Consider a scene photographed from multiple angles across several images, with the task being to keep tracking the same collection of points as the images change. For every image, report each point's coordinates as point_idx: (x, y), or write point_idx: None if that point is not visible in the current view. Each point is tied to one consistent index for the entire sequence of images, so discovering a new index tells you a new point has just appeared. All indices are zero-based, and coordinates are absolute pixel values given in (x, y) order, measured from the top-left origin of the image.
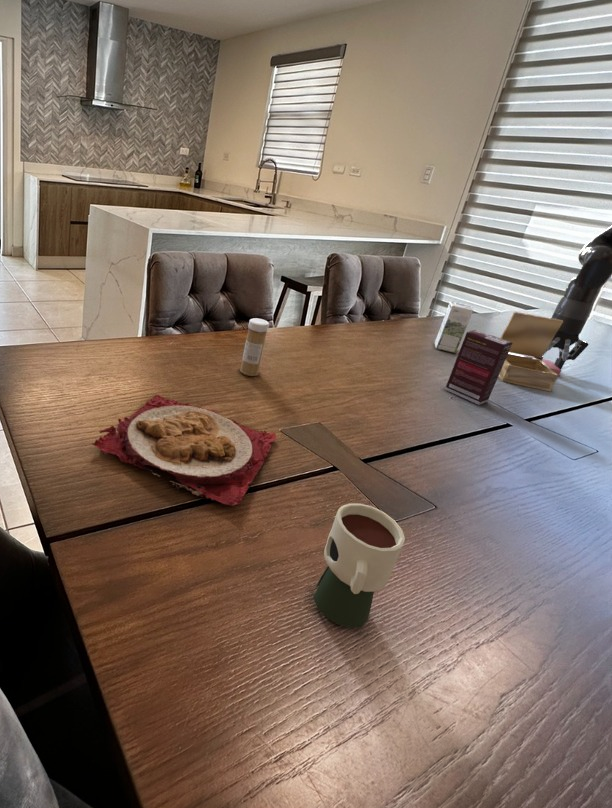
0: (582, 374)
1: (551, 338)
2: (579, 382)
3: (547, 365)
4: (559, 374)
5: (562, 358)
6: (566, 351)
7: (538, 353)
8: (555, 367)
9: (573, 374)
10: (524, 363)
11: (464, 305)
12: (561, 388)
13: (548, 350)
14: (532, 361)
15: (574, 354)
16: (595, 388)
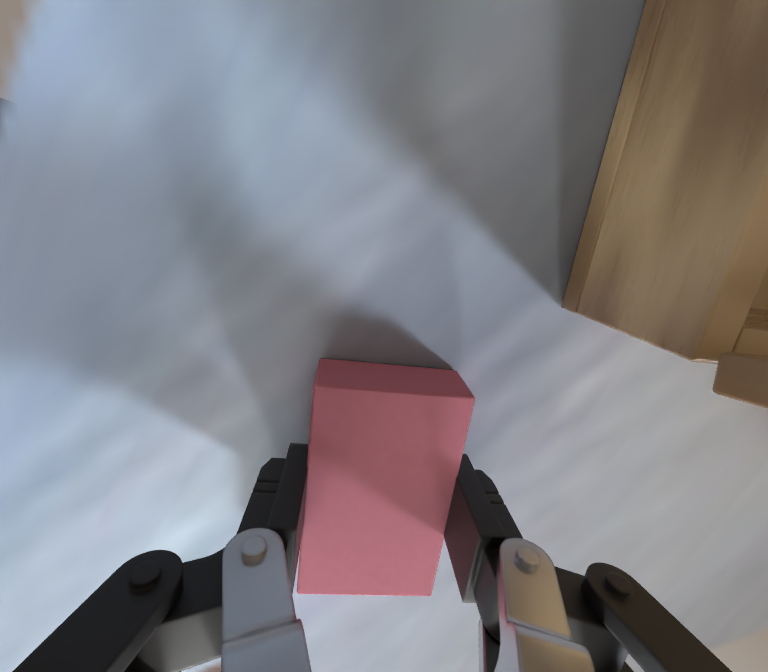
0: (41, 519)
1: None
2: (161, 302)
3: (405, 458)
4: (319, 366)
5: (285, 550)
6: (265, 666)
7: None
8: (341, 442)
9: (133, 481)
10: (759, 317)
11: None
12: (476, 10)
13: (514, 622)
14: (745, 321)
15: (113, 648)
16: (44, 201)
